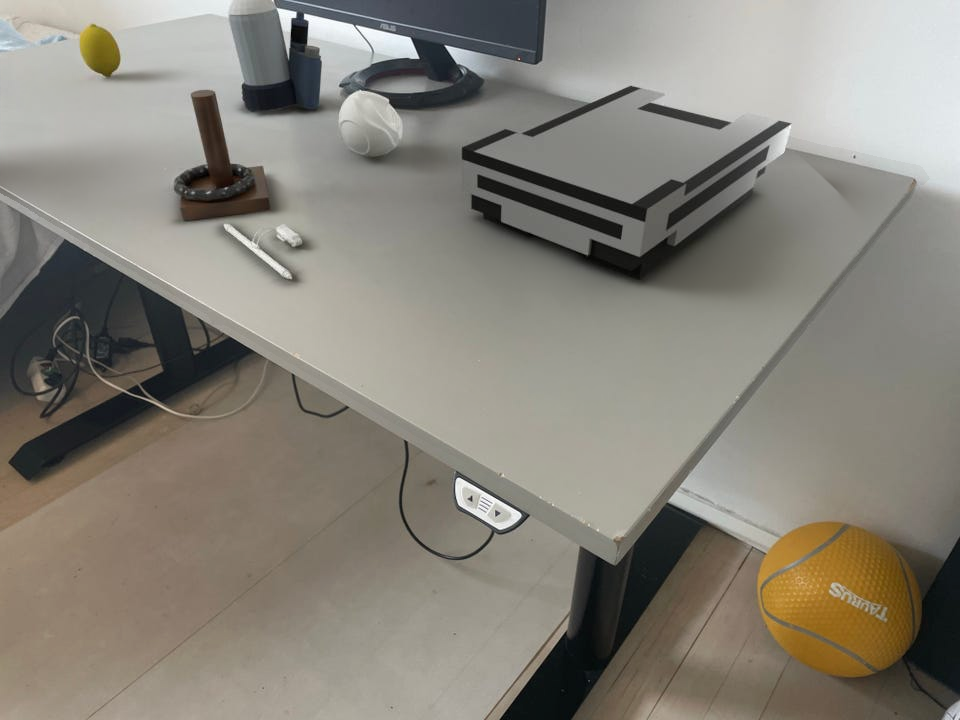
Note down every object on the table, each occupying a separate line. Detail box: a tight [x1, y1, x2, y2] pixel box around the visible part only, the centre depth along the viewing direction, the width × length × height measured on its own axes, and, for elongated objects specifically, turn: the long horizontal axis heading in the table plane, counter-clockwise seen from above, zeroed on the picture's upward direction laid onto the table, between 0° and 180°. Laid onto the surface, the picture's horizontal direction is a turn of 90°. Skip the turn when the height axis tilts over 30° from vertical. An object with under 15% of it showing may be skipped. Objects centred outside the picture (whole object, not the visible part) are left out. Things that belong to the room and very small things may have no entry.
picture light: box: [223, 223, 303, 280], centre depth 70 cm, size 14×4×2 cm, turn 41°
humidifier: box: [227, 0, 297, 112], centre depth 97 cm, size 8×8×25 cm
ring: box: [173, 162, 255, 202], centre depth 78 cm, size 8×8×1 cm
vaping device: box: [288, 11, 323, 110], centre depth 101 cm, size 3×5×12 cm, turn 57°
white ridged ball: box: [338, 90, 403, 158], centre depth 88 cm, size 8×8×8 cm
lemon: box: [78, 23, 121, 78], centre depth 113 cm, size 6×6×8 cm
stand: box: [179, 89, 272, 222], centre depth 76 cm, size 9×9×12 cm
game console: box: [461, 85, 793, 281], centre depth 77 cm, size 21×32×8 cm, turn 139°
